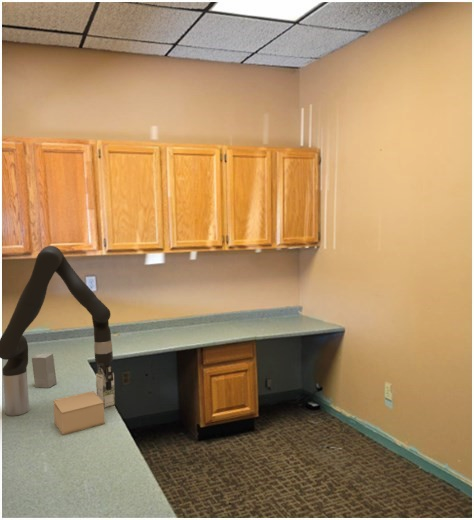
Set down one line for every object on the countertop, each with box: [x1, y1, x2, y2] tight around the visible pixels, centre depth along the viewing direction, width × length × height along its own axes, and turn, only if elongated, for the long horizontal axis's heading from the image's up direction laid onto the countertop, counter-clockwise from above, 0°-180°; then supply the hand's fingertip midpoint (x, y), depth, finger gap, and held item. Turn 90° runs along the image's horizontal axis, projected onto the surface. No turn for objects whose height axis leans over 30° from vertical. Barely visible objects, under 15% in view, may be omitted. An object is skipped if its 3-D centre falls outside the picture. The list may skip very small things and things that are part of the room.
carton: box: [53, 403, 106, 435], centre depth 183 cm, size 13×16×8 cm
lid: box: [52, 390, 104, 414], centre depth 183 cm, size 13×16×1 cm
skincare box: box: [31, 353, 57, 389], centre depth 228 cm, size 8×7×16 cm
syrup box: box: [95, 372, 116, 409], centre depth 201 cm, size 6×6×14 cm
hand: (105, 387), depth 201 cm, fingers open, 8 cm apart
